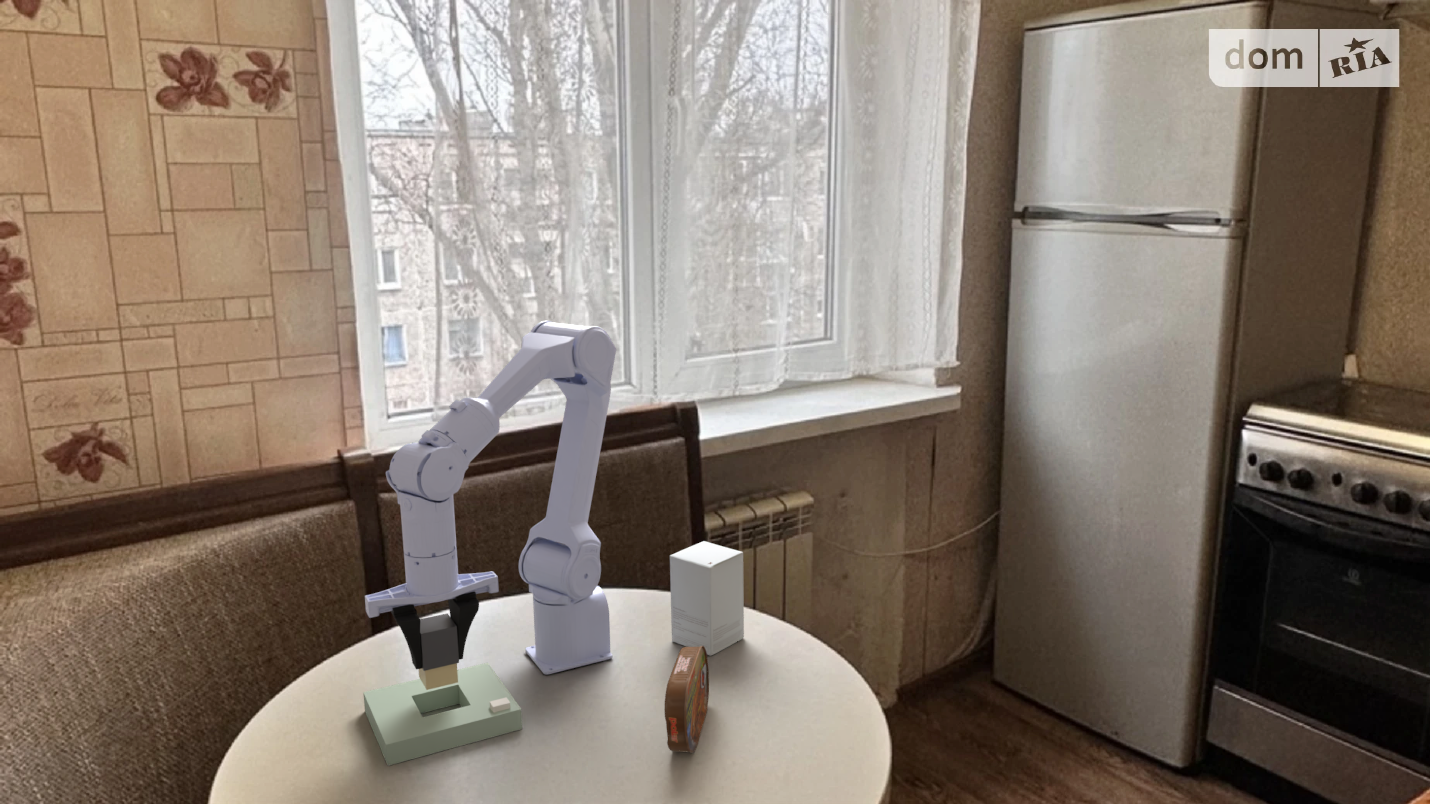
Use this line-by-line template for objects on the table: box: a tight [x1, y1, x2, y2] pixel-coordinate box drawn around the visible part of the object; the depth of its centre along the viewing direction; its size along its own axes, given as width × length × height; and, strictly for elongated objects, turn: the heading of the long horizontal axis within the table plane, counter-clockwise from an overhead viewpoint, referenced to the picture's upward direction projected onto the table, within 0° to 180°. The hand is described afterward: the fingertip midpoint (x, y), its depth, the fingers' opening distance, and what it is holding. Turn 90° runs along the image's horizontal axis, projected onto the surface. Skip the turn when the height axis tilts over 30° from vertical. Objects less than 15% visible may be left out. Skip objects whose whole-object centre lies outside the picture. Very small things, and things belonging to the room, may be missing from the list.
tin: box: [664, 646, 710, 754], centre depth 114 cm, size 15×3×8 cm, turn 172°
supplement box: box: [669, 540, 745, 656], centre depth 135 cm, size 7×7×13 cm
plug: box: [418, 613, 460, 690], centre depth 115 cm, size 4×4×7 cm
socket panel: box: [362, 662, 523, 766], centre depth 116 cm, size 15×13×3 cm
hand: (437, 660), depth 115 cm, fingers closed on plug, 4 cm apart
